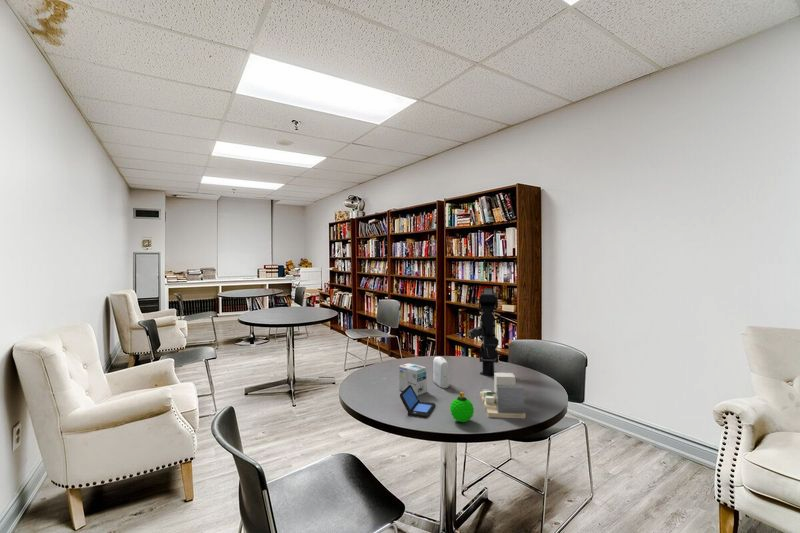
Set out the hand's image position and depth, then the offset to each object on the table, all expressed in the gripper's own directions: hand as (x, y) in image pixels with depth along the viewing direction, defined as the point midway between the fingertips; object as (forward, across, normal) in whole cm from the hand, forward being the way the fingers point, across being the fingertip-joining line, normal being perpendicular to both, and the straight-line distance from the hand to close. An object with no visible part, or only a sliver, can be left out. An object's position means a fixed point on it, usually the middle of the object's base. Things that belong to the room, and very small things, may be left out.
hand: (487, 356), depth 160 cm
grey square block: (+12, +32, +3) cm, 34 cm away
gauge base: (+13, +23, +1) cm, 26 cm away
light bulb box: (+13, +10, -33) cm, 37 cm away
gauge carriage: (+11, +24, +1) cm, 26 cm away
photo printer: (+13, 0, -21) cm, 25 cm away
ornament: (+13, +38, -15) cm, 43 cm away
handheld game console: (+14, +29, -30) cm, 44 cm away
